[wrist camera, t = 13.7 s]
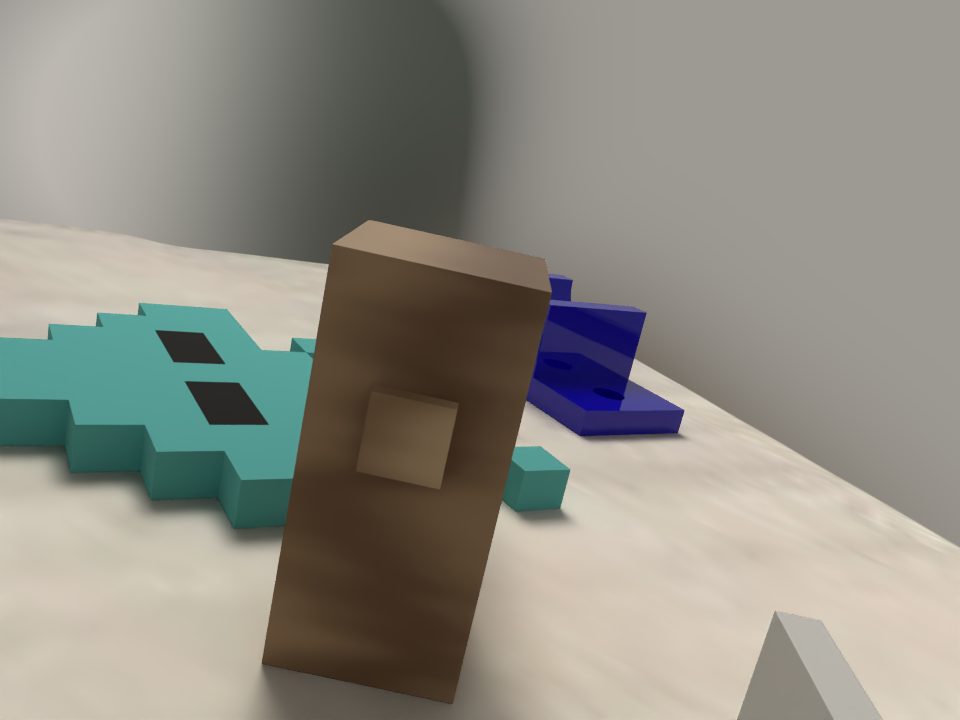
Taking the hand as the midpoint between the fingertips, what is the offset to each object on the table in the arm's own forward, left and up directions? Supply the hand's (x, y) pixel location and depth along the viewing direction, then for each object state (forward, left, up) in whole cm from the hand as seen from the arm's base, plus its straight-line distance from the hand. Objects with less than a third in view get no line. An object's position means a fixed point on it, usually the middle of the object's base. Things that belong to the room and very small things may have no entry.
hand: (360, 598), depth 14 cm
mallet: (0, +13, -7) cm, 15 cm away
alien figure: (-8, +23, -7) cm, 26 cm away
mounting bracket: (+5, +39, -7) cm, 40 cm away
